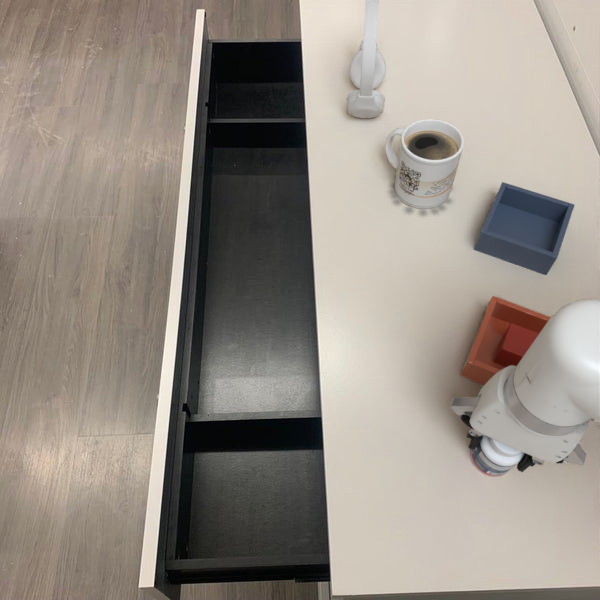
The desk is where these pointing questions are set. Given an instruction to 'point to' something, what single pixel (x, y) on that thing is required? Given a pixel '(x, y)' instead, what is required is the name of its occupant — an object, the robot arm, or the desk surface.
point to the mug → (425, 161)
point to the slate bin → (525, 228)
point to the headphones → (367, 70)
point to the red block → (514, 345)
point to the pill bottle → (494, 457)
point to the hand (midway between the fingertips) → (498, 448)
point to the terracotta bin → (497, 336)
